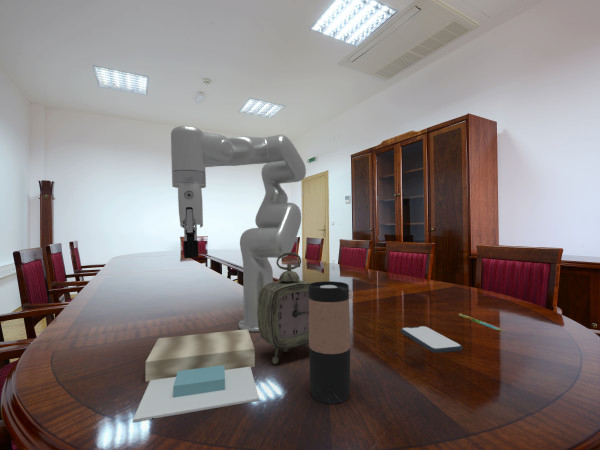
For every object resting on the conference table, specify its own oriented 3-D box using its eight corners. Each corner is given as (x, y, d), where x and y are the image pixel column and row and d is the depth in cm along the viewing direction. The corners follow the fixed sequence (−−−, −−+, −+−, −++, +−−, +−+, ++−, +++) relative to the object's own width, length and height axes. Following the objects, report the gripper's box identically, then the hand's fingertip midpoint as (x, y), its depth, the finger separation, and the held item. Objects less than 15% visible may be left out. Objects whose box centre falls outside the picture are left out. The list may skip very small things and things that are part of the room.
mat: (250, 368, 64) (250, 366, 64) (258, 400, 52) (258, 398, 52) (150, 382, 59) (150, 380, 59) (132, 422, 46) (132, 419, 46)
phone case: (465, 352, 73) (425, 330, 88) (465, 346, 73) (425, 325, 89) (433, 356, 71) (399, 333, 87) (433, 349, 71) (399, 327, 87)
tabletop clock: (271, 369, 64) (270, 254, 64) (254, 355, 71) (253, 252, 72) (324, 354, 71) (322, 252, 72) (304, 342, 79) (303, 250, 80)
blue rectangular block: (225, 378, 55) (225, 389, 55) (224, 365, 60) (224, 374, 60) (173, 386, 52) (173, 397, 52) (177, 371, 58) (177, 381, 58)
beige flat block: (247, 344, 78) (247, 329, 78) (254, 366, 65) (254, 348, 65) (158, 354, 72) (158, 338, 72) (145, 381, 59) (145, 361, 59)
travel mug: (307, 383, 57) (306, 281, 58) (345, 381, 58) (343, 280, 59) (312, 406, 50) (310, 288, 50) (356, 403, 50) (354, 287, 51)
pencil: (506, 333, 85) (461, 316, 103) (506, 329, 85) (461, 313, 103) (502, 333, 85) (458, 316, 103) (502, 329, 85) (458, 313, 103)
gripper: (206, 176, 63) (208, 260, 64) (205, 185, 78) (207, 254, 78) (168, 175, 61) (171, 262, 61) (174, 184, 75) (176, 255, 75)
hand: (191, 257), depth 69 cm, fingers closed
